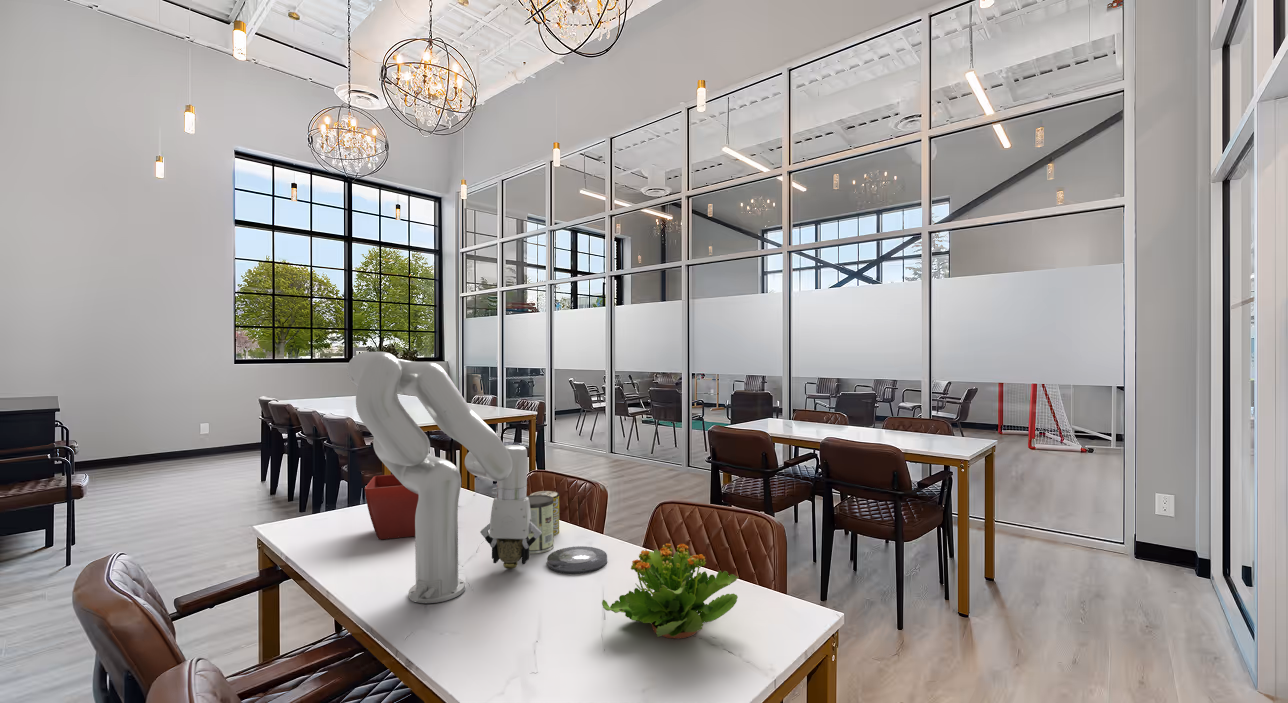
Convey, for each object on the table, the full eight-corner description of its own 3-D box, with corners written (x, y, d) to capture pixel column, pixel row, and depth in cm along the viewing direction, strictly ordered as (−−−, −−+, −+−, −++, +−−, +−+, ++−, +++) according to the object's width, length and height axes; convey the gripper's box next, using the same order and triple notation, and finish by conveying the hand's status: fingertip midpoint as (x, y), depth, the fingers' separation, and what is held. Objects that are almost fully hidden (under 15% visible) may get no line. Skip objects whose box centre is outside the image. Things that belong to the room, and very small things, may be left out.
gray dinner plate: (603, 574, 143) (603, 567, 143) (541, 573, 144) (541, 566, 144) (610, 551, 159) (610, 545, 159) (554, 551, 160) (554, 545, 160)
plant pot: (374, 526, 185) (373, 475, 185) (436, 520, 191) (435, 470, 191) (364, 545, 167) (363, 488, 167) (432, 538, 172) (432, 483, 172)
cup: (521, 573, 143) (521, 541, 143) (492, 572, 143) (493, 540, 143) (527, 562, 151) (528, 532, 151) (500, 561, 151) (501, 531, 151)
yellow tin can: (525, 535, 174) (524, 497, 174) (538, 527, 183) (538, 490, 183) (551, 538, 171) (551, 499, 171) (564, 529, 180) (563, 492, 180)
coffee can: (524, 541, 169) (523, 494, 169) (557, 542, 168) (557, 494, 168) (512, 553, 159) (512, 503, 159) (548, 554, 158) (548, 504, 158)
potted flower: (669, 591, 133) (668, 517, 133) (760, 621, 118) (759, 538, 118) (595, 633, 113) (594, 546, 113) (692, 675, 98) (691, 575, 98)
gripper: (474, 495, 144) (472, 566, 144) (541, 497, 143) (540, 568, 143) (484, 489, 152) (482, 556, 151) (547, 490, 151) (546, 558, 150)
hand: (510, 561), depth 147 cm, fingers closed on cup, 6 cm apart
